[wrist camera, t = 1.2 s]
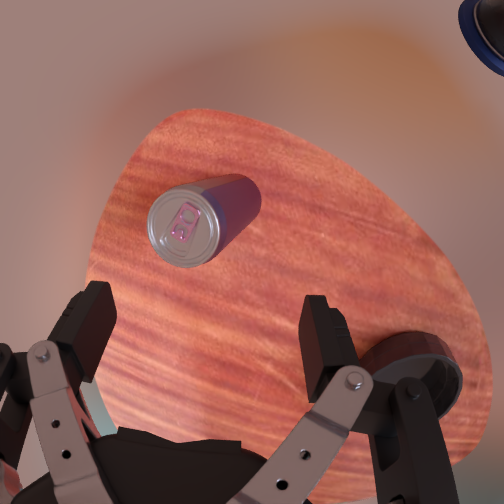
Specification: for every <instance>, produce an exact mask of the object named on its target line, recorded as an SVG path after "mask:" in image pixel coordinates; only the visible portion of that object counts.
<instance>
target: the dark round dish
mask: <svg viewBox="0 0 504 504" xmlns="http://www.w3.org/2000/svg"><path fill="white" fill-rule="evenodd" d="M359 363H360V366H361V368H363V369H365V370H366V371H367V372H368V373H369V374H370V375H371V377H372V379H374V380H376V381H380V382H385V383H390V384H395V385H396V384H397V382H398V381H399V380H400V379H402V378H404V377H414V378H417V379H419V380H420V381H422V382H423V383H424V384H425V385H426V387H427V388H428V391H429V393H430V396H431V399H432V402H433V405H434V408H435V411H436V415H437V418H438V420H439V419H441V418H442V417H443V416H444V415H446V414H447V413H448V412H449V410H450V409H451V408H452V407H453V405H454V404H455V403H456V401H457V399H458V397H459V395H460V392H461V390H462V381H463V375H462V373H461V370H460V368H459V366H458V364H457V362H456V360H455V358H454V356H453V355H452V353H451V351H450V349H449V347H448V345H447V344H446V343H445V342H444V341H443V340H441V339H440V338H439V337H437V336H436V335H432V334H428V333H425V332H411V333H403V334H400V335H396V336H393V337H390V338H388V339H386V340H384V341H383V342H381V343H379V344H378V345H376V346H374V347H373V348H371V349H370V350H369V351H368V352H367V353H366V354H365V355H364V356H363V357H362V358H361V359H360V361H359Z"/></svg>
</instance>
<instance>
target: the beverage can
mask: <svg viewBox="0 0 504 504" xmlns="http://www.w3.org/2000/svg"><path fill="white" fill-rule="evenodd" d="M260 208H261V194H260V191H259V189H258V187H257V186H256V184H255V183H254V182H253V181H252V180H251V179H249V178H248V177H246V176H243V175H240V174H229V175H224V176H220V177H215V178H210V179H205V180H201V181H196V182H192V183H187V184H183V185H179V186H175V187H173V188H171V189H169V190H167V191H166V192H165V193H164V194H162V195H161V196H159V197H158V198H157V199H156V200H155V201H154V203H153V204H152V206H151V208H150V210H149V213H148V217H147V233H148V237H149V240H150V243H151V245H152V247H153V248H154V250H155V251H156V253H157V254H158V255H159V256H160V257H161V258H162V259H163V260H165V261H166V262H168V263H170V264H172V265H174V266H177V267H181V268H192V267H196V266H199V265H201V264H204V263H207V262H209V261H210V260H212V259H213V258H215V257H216V256H217V255H218V254H219V253H220V252H221V251H222V250H223V249H224V248H225V247H226V246H227V245H228V244H229V243H230V242H231V241H232V240H233V239H234V238H235V237H236V236H237V235H238V234H239V233H240V232H241V231H242V230H244V229H245V228H246V227H247V226H248V225H249V224H250V223H251V222H252V221H253V220H254V219H255V218H256V216H257V215H258V213H259V211H260Z"/></svg>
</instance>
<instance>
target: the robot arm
mask: <svg viewBox="0 0 504 504" xmlns="http://www.w3.org/2000/svg"><path fill="white" fill-rule="evenodd" d="M472 18H473V22H474V26H475V28H476V31H477V33H478V35H479V36H480V38H481V40H482V41H483V42H484V44H485V45H486V46H487V48H488V49H489V50H490V51H491V52H492V53H493V54H494V55H495V56H496V57H497V58H499V59H500V60H501V61H503V62H504V0H480V1H479V2H477V3H476V4H475V6H474V7H473V11H472ZM116 319H117V310H116V306H115V303H114V299H113V295H112V291H111V287H110V284H109V283H108V282H103V281H90V283H89V284H88V286H87V287H86V289H85V291H84V292H83V291H80V292H79V293H78V294H76V295H75V296H74V297H73V298H72V299H71V300H70V302H69V304H68V305H67V307H66V309H65V310H64V311H63V313H62V316H60V318H59V320H58V321H57V323H56V325H55V327H54V328H53V330H52V332H51V334H50V335H49V337H48V339H47V340H44V341H40V342H37V343H35V344H34V345H33V346H32V347H31V348H30V349H29V351H28V352H18V353H13V352H12V351H11V349H10V347H9V346H8V345H7V344H4V343H0V401H1V399H2V396H3V394H4V392H5V391H6V392H7V393H8V394H7V396H6V399H5V401H4V404H3V406H2V409H1V412H0V504H312V503H311V502H310V501H309V500H308V499H307V497H308V496H309V494H310V493H311V492H312V490H313V489H314V487H315V486H316V485H317V483H318V482H319V480H320V479H321V478H322V476H323V475H324V473H325V472H326V470H327V469H328V467H329V466H330V464H331V463H332V461H333V459H334V458H335V456H336V455H337V453H338V452H339V450H340V448H341V447H342V445H343V443H344V442H345V440H346V438H347V437H348V435H349V431H353V432H358V433H364V434H368V437H369V443H370V449H371V456H372V463H373V469H374V477H375V484H376V492H377V500H378V504H459V499H458V494H457V490H456V485H455V481H454V476H453V472H452V468H451V464H450V460H449V456H448V452H447V448H446V445H445V441H444V438H443V434H442V431H441V428H440V424H439V421H438V418H437V415H436V411H435V408H434V405H433V402H432V399H431V396H430V393H429V391H428V388H427V387H426V385H425V384H424V383H423V382H422V381H420V380H419V379H417V378H414V377H404V378H402V379H400V380H399V381H398V382H397V384H396V385H395V384H390V383H385V382H380V381H376V380H374V379H372V377H371V375H370V374H369V373H368V372H367V371H366V370H365V369H363V368H361V366H360V363H359V360H358V357H357V354H356V351H355V347H354V344H353V341H352V338H351V337H350V332H349V329H348V326H347V323H346V320H345V317H344V316H343V315H342V314H341V312H340V311H339V310H338V309H337V308H329V306H328V303H327V300H326V297H325V295H306V296H305V299H304V304H303V308H302V313H301V317H300V321H299V330H298V333H299V342H300V348H301V354H302V361H303V367H304V374H305V380H306V387H307V393H308V400H309V403H315V404H314V406H313V407H312V408H311V410H310V411H309V412H306V413H305V415H304V416H303V417H302V418H301V420H300V421H299V422H298V424H297V425H296V426H295V427H294V429H293V430H292V431H291V433H290V434H289V435H288V436H287V438H286V439H285V440H284V441H283V443H282V444H281V445H280V446H279V447H278V449H277V450H276V451H275V452H274V453H273V455H272V456H271V457H270V458H269V459H268V460H267V459H266V458H264V457H263V456H261V455H259V454H257V453H255V452H252V451H250V450H247V449H243V448H241V441H232V440H214V439H208V440H200V441H192V442H184V443H175V442H172V441H169V440H167V439H164V438H161V437H159V436H156V435H154V434H151V433H149V432H146V431H140V430H135V429H130V428H125V427H120V426H119V428H118V432H117V434H111V435H106V436H102V437H101V435H100V433H99V432H98V430H97V428H96V426H95V424H94V422H93V420H92V417H91V415H90V413H89V410H88V408H87V405H86V402H85V400H84V397H83V394H82V392H81V389H80V388H79V387H80V384H81V382H82V381H83V382H87V383H92V380H93V378H94V375H95V372H96V370H97V367H98V365H99V362H100V360H101V357H102V355H103V352H104V350H105V347H106V345H107V343H108V340H109V338H110V335H111V333H112V331H113V328H114V326H115V324H116ZM32 416H33V419H34V422H35V427H36V430H37V434H38V437H39V441H40V444H41V447H42V451H43V453H44V457H45V460H46V463H47V466H48V468H49V472H48V473H46V474H45V475H43V476H42V477H40V478H39V479H38V480H36V481H35V482H33V483H32V484H30V485H29V486H27V487H26V488H24V489H23V490H22V484H21V483H20V479H19V475H18V473H17V471H16V470H17V467H18V463H19V459H20V455H21V452H22V448H23V445H24V441H25V438H26V434H27V431H28V428H29V425H30V422H31V419H32Z"/></svg>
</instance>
